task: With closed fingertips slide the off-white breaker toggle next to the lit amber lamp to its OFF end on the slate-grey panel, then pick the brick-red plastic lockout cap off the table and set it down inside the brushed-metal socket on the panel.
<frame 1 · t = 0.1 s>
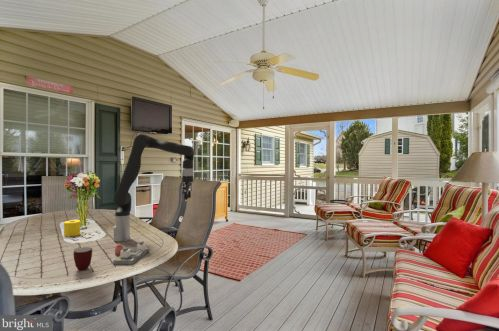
hand: (187, 198, 188), 29 cm above the table, fingers open, 8 cm apart
yellow cylinder: (72, 234, 202), on the table
panel: (132, 257, 157), on the table
toggle 1: (125, 252, 151), point 5 cm above the table, slide at 0.0 cm
lockout cap: (119, 254, 162), on the table
mug: (81, 269, 140), on the table
toggle 2: (141, 245, 163), point 5 cm above the table, slide at 4.0 cm
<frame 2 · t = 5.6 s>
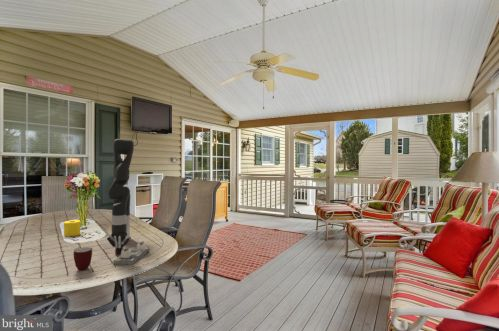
hand: (119, 254, 151), 4 cm above the table, fingers closed
toggle 1: (126, 252, 151), point 5 cm above the table, slide at 0.5 cm, touching gripper
everything else where it was.
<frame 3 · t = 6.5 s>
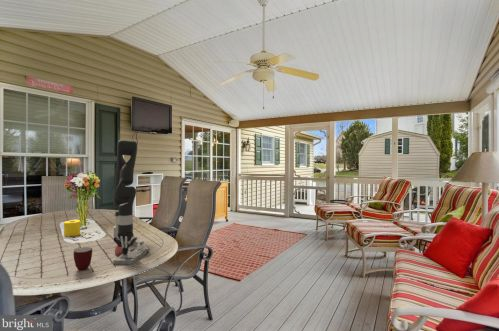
hand: (125, 254, 151), 4 cm above the table, fingers closed
toggle 1: (132, 252, 151), point 5 cm above the table, slide at 4.1 cm, touching gripper
everything else where it was.
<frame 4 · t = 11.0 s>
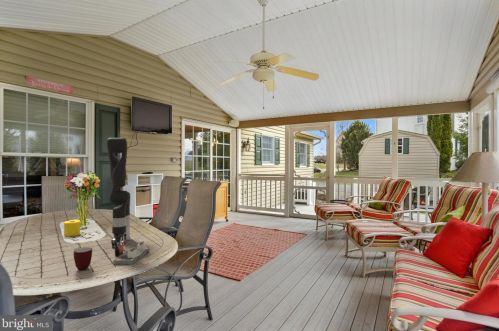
hand: (119, 253, 162), 0 cm above the table, fingers closed on lockout cap, 4 cm apart
toggle 1: (132, 252, 151), point 5 cm above the table, slide at 4.1 cm
lockout cap: (119, 254, 162), on the table, touching gripper
everything else where it was.
when the fingers open (4 cm above the table, at t = 15.5 s): lockout cap drops 2 cm, resting on panel.
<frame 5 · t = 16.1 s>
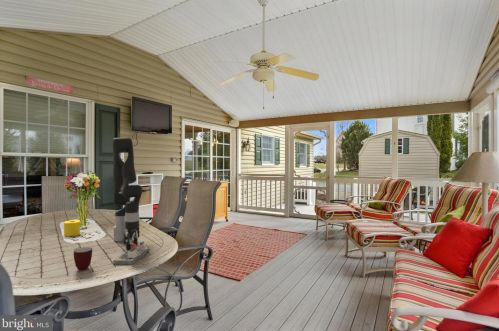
hand: (132, 248, 157), 5 cm above the table, fingers open, 8 cm apart
lockout cap: (131, 253, 157), point 2 cm above the table, touching panel
toggle 2: (141, 246, 163), point 5 cm above the table, slide at 4.1 cm, touching gripper
everything else where it was.
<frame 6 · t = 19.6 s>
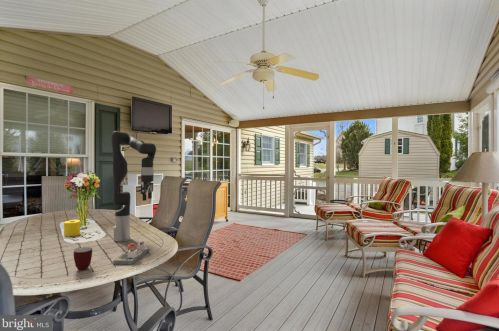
hand: (147, 199, 177), 30 cm above the table, fingers open, 8 cm apart
toggle 2: (141, 246, 163), point 5 cm above the table, slide at 4.1 cm
everything else where it was.
at the end: toggle 1 slide at 4.1 cm; lockout cap 0.1 cm off-centre on the panel, point 2.0 cm above the panel's base; lockout cap tilted 0° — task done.
